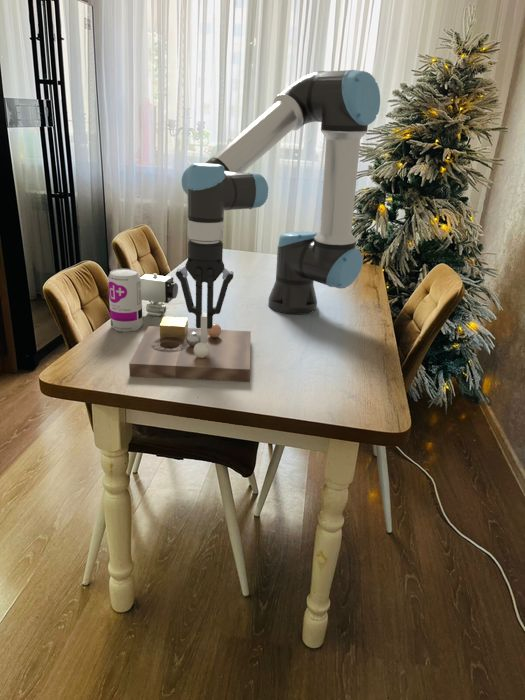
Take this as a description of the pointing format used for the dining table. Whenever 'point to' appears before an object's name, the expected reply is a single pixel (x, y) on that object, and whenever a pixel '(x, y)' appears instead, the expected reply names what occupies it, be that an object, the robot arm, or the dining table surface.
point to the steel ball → (193, 339)
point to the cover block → (174, 327)
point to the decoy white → (201, 350)
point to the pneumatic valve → (157, 292)
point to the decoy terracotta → (214, 331)
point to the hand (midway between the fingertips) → (204, 340)
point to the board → (193, 357)
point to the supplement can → (125, 300)
